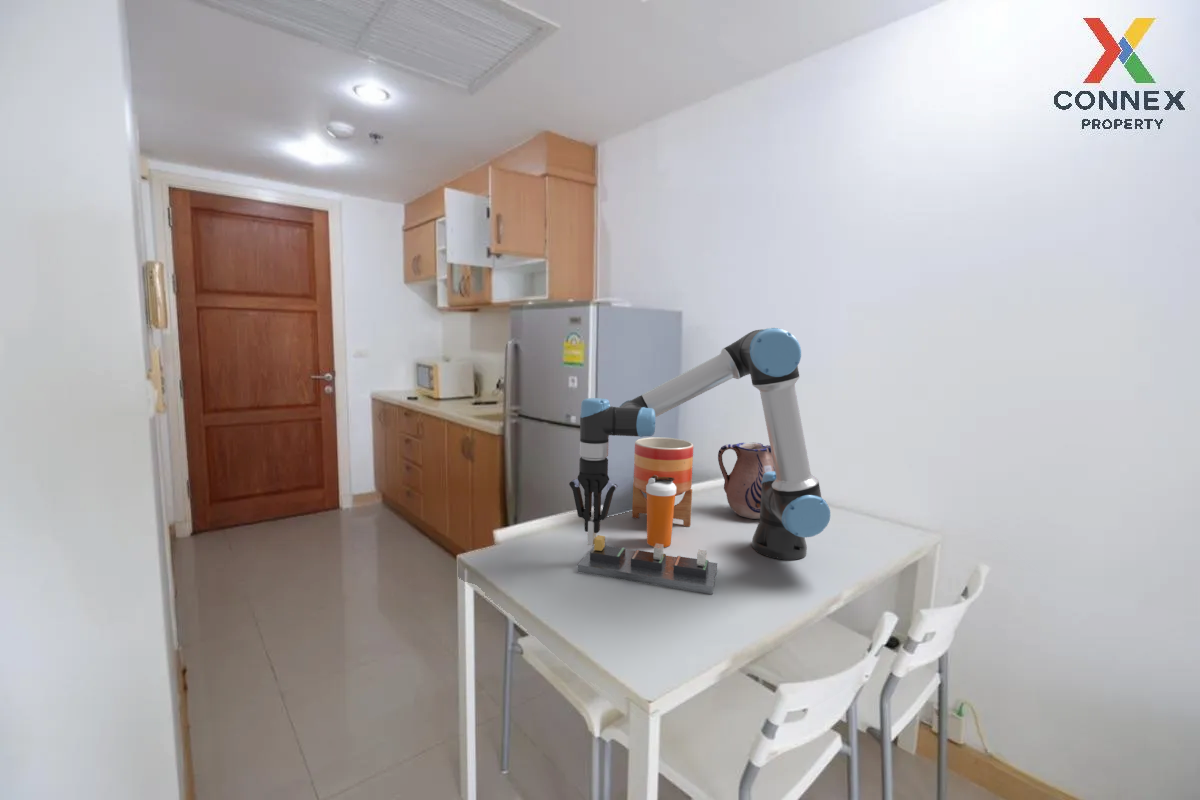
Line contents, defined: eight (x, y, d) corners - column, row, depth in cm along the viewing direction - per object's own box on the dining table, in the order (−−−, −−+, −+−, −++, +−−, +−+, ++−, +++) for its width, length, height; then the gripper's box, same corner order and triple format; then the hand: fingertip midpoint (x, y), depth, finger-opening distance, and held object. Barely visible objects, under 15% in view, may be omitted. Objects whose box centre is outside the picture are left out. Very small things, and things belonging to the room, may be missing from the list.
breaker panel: (717, 570, 136) (718, 544, 135) (712, 594, 122) (713, 565, 122) (594, 551, 146) (594, 527, 145) (577, 572, 132) (578, 545, 132)
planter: (622, 526, 167) (625, 444, 164) (641, 508, 185) (644, 434, 182) (682, 536, 159) (687, 451, 156) (696, 517, 178) (700, 440, 175)
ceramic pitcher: (784, 524, 173) (789, 451, 170) (721, 522, 173) (725, 449, 170) (768, 508, 190) (772, 441, 187) (711, 506, 190) (714, 439, 188)
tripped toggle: (604, 546, 139) (605, 536, 138) (601, 551, 136) (601, 540, 136) (597, 545, 139) (597, 535, 139) (594, 549, 136) (594, 538, 136)
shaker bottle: (673, 550, 148) (676, 482, 146) (642, 547, 150) (644, 480, 148) (674, 539, 157) (677, 474, 155) (645, 536, 159) (648, 472, 156)
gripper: (621, 456, 137) (619, 541, 140) (575, 452, 141) (573, 535, 144) (613, 462, 130) (611, 552, 133) (565, 457, 134) (563, 545, 137)
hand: (591, 543), depth 138 cm, fingers closed
